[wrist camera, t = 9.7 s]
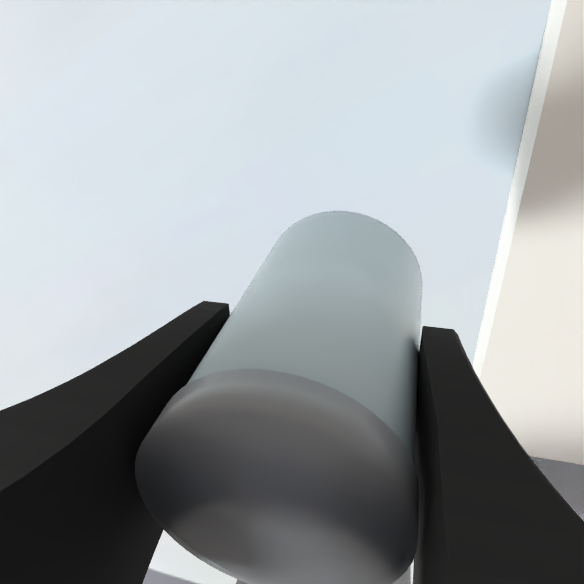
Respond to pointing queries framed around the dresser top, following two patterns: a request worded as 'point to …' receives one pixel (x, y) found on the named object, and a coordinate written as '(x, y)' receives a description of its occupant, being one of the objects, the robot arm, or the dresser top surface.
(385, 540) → the cup
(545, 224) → the housing
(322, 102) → the dresser top surface
